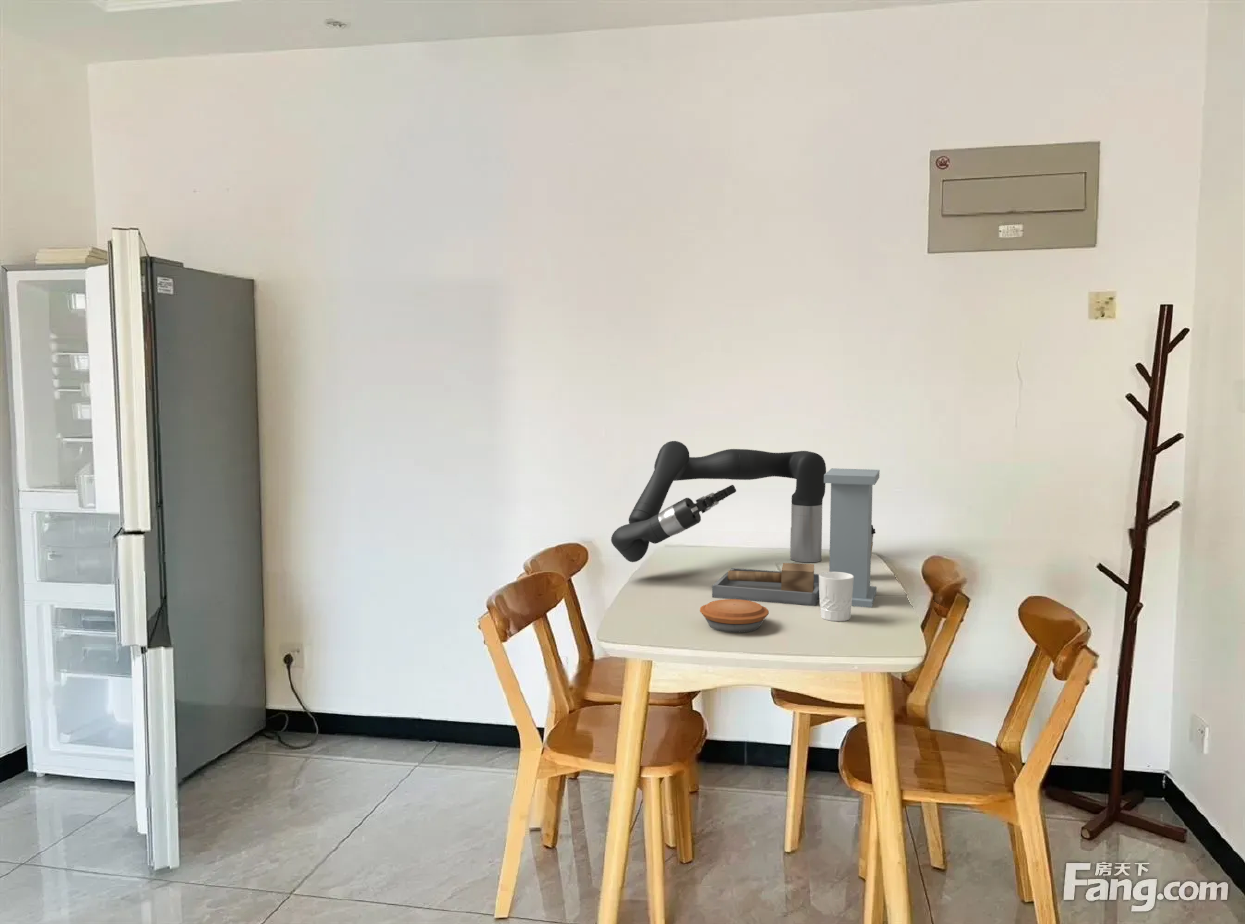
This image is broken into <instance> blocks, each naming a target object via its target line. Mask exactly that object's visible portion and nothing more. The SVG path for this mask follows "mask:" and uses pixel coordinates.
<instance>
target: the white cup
mask: <svg viewBox="0 0 1245 924" xmlns="http://www.w3.org/2000/svg"><path fill="white" fill-rule="evenodd" d="M818 574H819V598H820V599H819V607H820V609H819V610H820V612H819V613H820V617H821V619H823V620H826V621H831V622H846V621H848V620H850V619H851V617H852V616H851V615H852V613H851V612H852V607H853V606H852V596H853V580H854V576H853V575H851V574H848V573H843V572H829V571H825V572H821V573H818Z"/></svg>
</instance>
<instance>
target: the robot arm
mask: <svg viewBox="0 0 1245 924" xmlns="http://www.w3.org/2000/svg"><path fill="white" fill-rule="evenodd" d="M653 468H654V469H653V472H652V475H651V476H650V478H649V480H648V482H647V484H646V485H645V487H644V489H643V491H642V492H641V494H640V496H639V498H638V500H637V501H636V503H635V506H634V507H633V509H632V510H631V512H630V515H629V517H628V524H623V525H621V526H619V527H618V528H617V529H615V530H614V531H613V533H612V534H611V539H610V541H611V545H613V547H614V548H615V549H616V550H617V551H618V552H619V553H620V555H621V556H622V557H623V558H624V559H625V560H626V561H628V562H631V563H636V562H639V561H640V560H642V559H643V558H644V556H645V555H646V553H647V551H648V548H649V547H650V546H649V545H650V543H651V544H654V545H655V544H659V543H661V542H663V541H664V540H667V539H669V538H671V537H673V536H675V535H678V534H680V533H683V532H684V531H687V530H688V529H690V528H692V527H694V526H695V525H697V524H699V523H700V522H701V521H702V519H701V514H700V513H702V514H704V513H706V512H708V511H710V510H711V509H712V508H713V507H716V506H717V505H719V503H720V502H721V501H724V500H725V499H726V498H729V496H731V495H733V494H735V493H736V492H737V489H736V488H735V485H734V484H731V485H728V486H727V487H725V488H722V489H721V490H718V491H717V490H716V492H710V493H709V494H707V495H705V496H704V495H703V496H702V497H700V498H698V499H695V502H696V503H695V502H694V501H693V500H692V499H691V498H690V497H685V498H683V499H681V500H680V501H678V502H675V503H674V504H671V505H670V506H668V507H667V508H665V509H663V510H662V508H663V505H664V503H665V500H666V498H667V495H668V493H669V491H670V488H671V487H672V484H673V482H674V481H688V480H701V479H702V480H703V479H704V480H707V479H708V480H732V481H733V480H737V481H739V480H740V481H741V480H742V481H751V480H758V479H765V478H771V477H773V478H774V477H777V478H778V477H779V478H788V479H794V480H796V481H795V491H794V493H793V494H792V495H791V511H790V513H791V518H790V519H791V520H790V521H791V523H790V544H789V545H790V547H789V548H790V551H789V552H790V553H789V554H790V559H791V561H794V562H797V563H798V562H799V563H816V562H817V563H818V562H820V561H822V551H823V549H822V548H823V547H822V545H823V542H822V541H823V499H824V497H825V493H826V485H827V483H824V474H826V473H827V466H826V461H825V459H824V458H823V456H822V455H821V454H818V453H816V452H813V451H809V450H798V451H786V452H770V451H764V450H758V449H745V448H743V449H741V448H731V449H729V448H728V449H723V450H720V451H717V452H713V453H711V454H707V455H704V456H690V451H689V448H688V447H687V446H686V445H685V444H684V442H683V443H682V442H681V441H678V440H672V441H671V440H670V441H667V442H666V443H664V444H663V445H662V446H661V447H660V448H659V451H658V453H657V456H656V459H655V462H654V466H653ZM661 510H662V511H661Z"/></svg>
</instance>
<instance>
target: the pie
mask: <svg viewBox="0 0 1245 924" xmlns="http://www.w3.org/2000/svg"><path fill="white" fill-rule="evenodd" d="M769 611H770V610H769V609H768V608H767V607H766V606H763V605H761V603H759V602H757V601H750V600H739V599H727V598H723V599H718V600H713V601H710V602H709V603H707V604H703V605H701V606H700V609H699V612H700V614H701V615H702V617H704V618H705V620H706V622H707V624H708V626H709V627H710V628H712V629H713V630H716V631H720V632H724V633H747V632H753V631H757V630H758V629H759V628H760V627H761V625H762V623H764V620H765V619H766V618H767V617H768V615H769V613H770V612H769Z"/></svg>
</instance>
